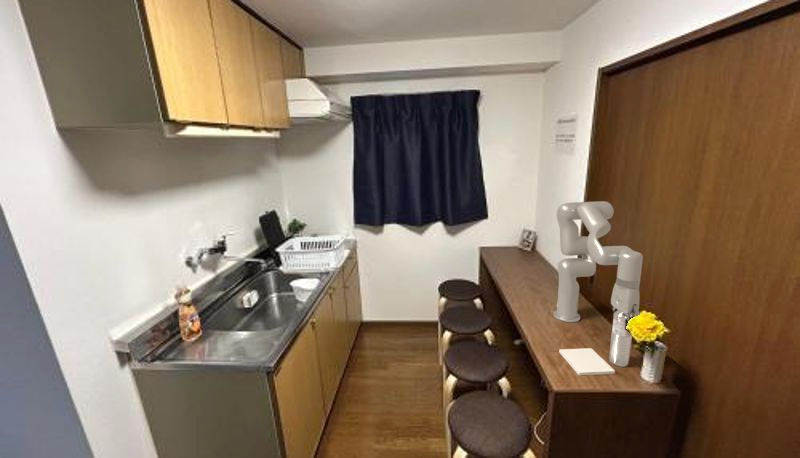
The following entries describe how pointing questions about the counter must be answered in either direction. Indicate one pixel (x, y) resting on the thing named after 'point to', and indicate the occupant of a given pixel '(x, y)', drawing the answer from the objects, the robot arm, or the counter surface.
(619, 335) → the water bottle
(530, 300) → the counter surface
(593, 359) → the board
